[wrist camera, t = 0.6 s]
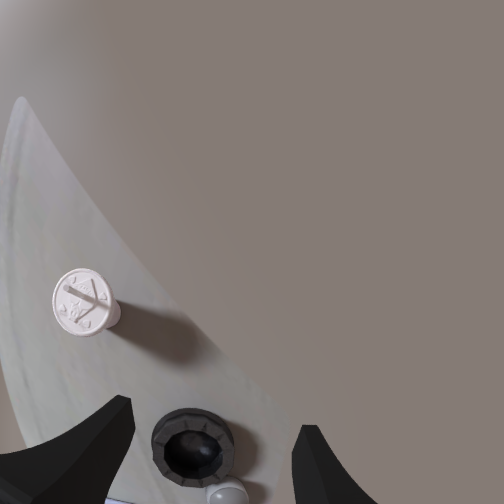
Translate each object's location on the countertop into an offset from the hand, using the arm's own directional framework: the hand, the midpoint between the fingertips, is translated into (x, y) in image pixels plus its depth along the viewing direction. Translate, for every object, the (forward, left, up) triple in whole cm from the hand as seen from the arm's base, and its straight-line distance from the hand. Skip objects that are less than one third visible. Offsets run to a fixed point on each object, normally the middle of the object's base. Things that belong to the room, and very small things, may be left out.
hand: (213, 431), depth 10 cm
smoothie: (+6, +12, -24) cm, 27 cm away
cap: (-16, -5, -24) cm, 29 cm away
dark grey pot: (-9, 0, -24) cm, 26 cm away
